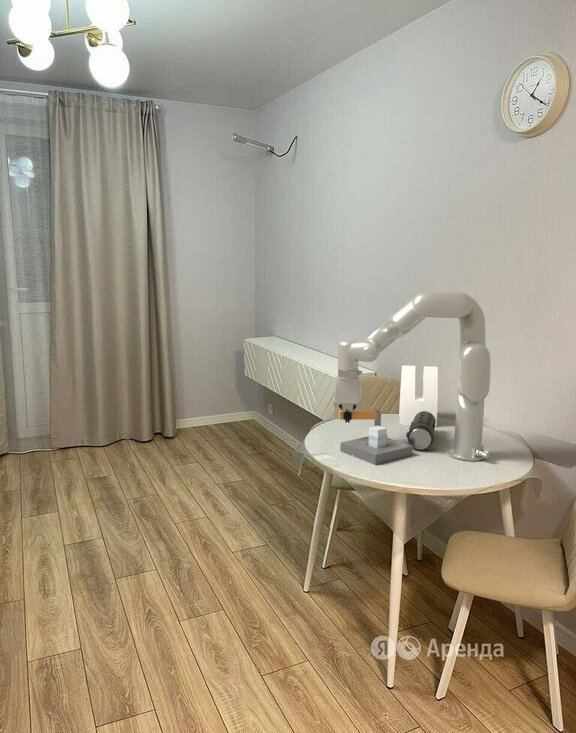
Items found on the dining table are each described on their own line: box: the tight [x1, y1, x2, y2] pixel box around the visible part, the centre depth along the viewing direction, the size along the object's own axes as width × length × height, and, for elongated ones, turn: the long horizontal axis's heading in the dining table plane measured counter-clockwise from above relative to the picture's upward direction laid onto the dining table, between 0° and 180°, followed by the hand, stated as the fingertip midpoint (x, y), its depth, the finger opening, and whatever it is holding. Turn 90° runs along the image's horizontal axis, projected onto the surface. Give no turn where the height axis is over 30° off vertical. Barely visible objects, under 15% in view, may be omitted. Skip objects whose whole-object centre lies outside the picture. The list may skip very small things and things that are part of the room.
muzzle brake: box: [405, 411, 437, 451], centre depth 226 cm, size 10×28×10 cm
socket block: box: [339, 436, 414, 466], centre depth 211 cm, size 18×19×4 cm
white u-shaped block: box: [398, 364, 439, 427], centre depth 256 cm, size 19×15×25 cm
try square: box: [338, 410, 382, 427], centre depth 219 cm, size 16×2×10 cm, turn 94°
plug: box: [367, 426, 389, 449], centre depth 209 cm, size 5×5×10 cm
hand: (347, 421), depth 216 cm, fingers closed
